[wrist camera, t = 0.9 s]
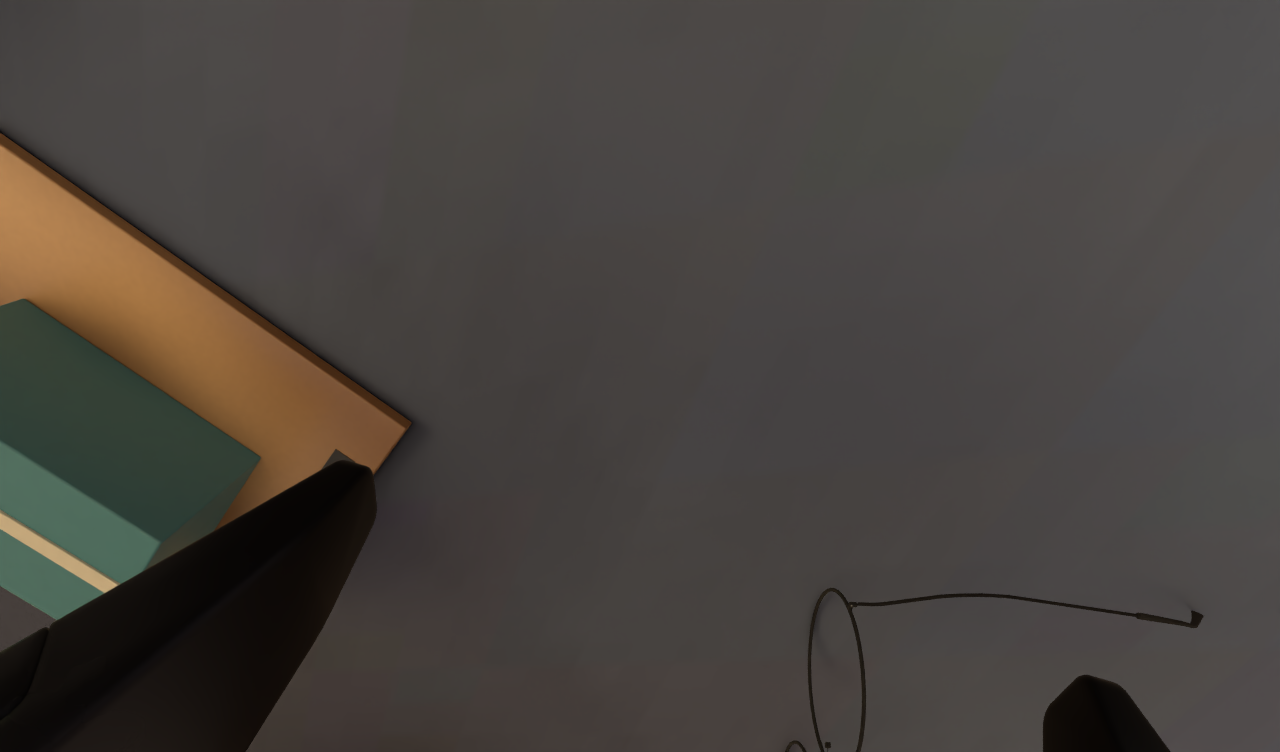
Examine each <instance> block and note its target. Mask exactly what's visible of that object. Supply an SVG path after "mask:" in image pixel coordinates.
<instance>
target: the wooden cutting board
mask: <svg viewBox="0 0 1280 752" xmlns="http://www.w3.org/2000/svg"><path fill="white" fill-rule="evenodd" d="M19 299H26V300H27V301H29V302H30V303H32V304H33V305H35V306H36V307H37V308H39V309H40V310H42V311H43V312H45V313H46V314H48V315H49V316H51V317H52V318H54V319H55V320H57V321H58V322H60V323H61V324H63V325H64V326H66V327H67V328H69V329H70V330H72V331H73V332H75V333H76V334H78V335H79V336H81V337H82V338H84V339H85V340H87V341H88V342H90V343H91V344H93V345H94V346H96V347H97V348H99V349H100V350H102V351H103V352H105V353H106V354H108V355H109V356H111V357H112V358H114V359H115V360H117V361H118V362H120V363H121V364H123V365H124V366H126V367H127V368H129V369H130V370H132V371H133V372H135V373H136V374H138V375H139V376H141V377H142V378H144V379H145V380H147V381H148V382H150V383H151V384H153V385H154V386H155V387H157V388H158V389H160V390H161V391H163V392H164V393H166V394H167V395H169V396H170V397H172V398H173V399H175V400H176V401H178V402H179V403H181V404H182V405H184V406H185V407H187V408H188V409H190V410H191V411H193V412H194V413H196V414H197V415H199V416H200V417H202V418H203V419H205V420H206V421H208V422H209V423H211V424H212V425H214V426H215V427H217V428H218V429H220V430H221V431H223V432H224V433H226V434H227V435H229V436H230V437H232V438H233V439H235V440H236V441H238V442H239V443H241V444H242V445H244V446H245V447H247V448H248V449H250V450H251V451H253V452H254V453H256V454H257V455H259V456H260V457H261V459H260V461H259V462H258V464H257V465H256V467H255V468H254V470H253V472H252V473H251V475H250V476H249V478H248V479H247V481H246V482H245V484H244V485H243V487H242V488H241V490H240V492H239V493H238V495H237V496H236V498H235V499H234V501H233V502H232V504H231V505H230V507H229V508H228V510H227V512H226V513H225V515H224V516H223V518H222V519H221V521H220V522H219V524H218V525H217V527H216V528H215V530H216V529H218V528H220V527H221V526H223V525H225V524H227V523H229V522H230V521H232V520H234V519H236V518H237V517H239V516H241V515H243V514H244V513H246V512H248V511H250V510H251V509H253V508H255V507H257V506H258V505H260V504H262V503H264V502H265V501H267V500H269V499H271V498H272V497H274V496H276V495H278V494H279V493H281V492H283V491H285V490H286V489H288V488H290V487H292V486H293V485H295V484H297V483H299V482H301V481H302V480H304V479H306V478H308V477H309V476H311V475H313V474H315V473H316V472H318V471H320V470H322V469H323V468H325V467H327V466H329V465H330V464H332V463H334V462H336V461H340V460H347V461H351V462H354V463H358V464H361V465H365V466H367V467H369V468H370V469H371V470H372V472H373V475H374V474H375V473H376V471H377V470H378V469H379V467H380V466H381V465H382V463H383V462H384V460H385V459H386V458H387V456H388V455H389V454H390V452H391V451H392V450H393V448H394V447H395V446H396V444H397V443H398V441H399V440H400V439H401V437H402V436H403V435H404V433H405V432H406V431H407V429H408V428H409V427H410V425H411V422H410V421H409V420H407V419H406V418H405V417H403V416H402V415H400V414H399V413H397V412H396V411H395V410H393V409H392V408H390V407H389V406H388V405H386V404H385V403H383V402H382V401H380V400H379V399H378V398H376V397H375V396H373V395H372V394H370V393H369V392H368V391H366V390H365V389H363V388H362V387H361V386H359V385H358V384H356V383H355V382H353V381H352V380H351V379H349V378H348V377H346V376H345V375H343V374H342V373H341V372H339V371H338V370H336V369H335V368H334V367H332V366H331V365H329V364H328V363H326V362H325V361H324V360H322V359H321V358H319V357H318V356H317V355H315V354H314V353H312V352H311V351H309V350H308V349H307V348H305V347H304V346H302V345H301V344H299V343H298V342H297V341H295V340H294V339H292V338H291V337H290V336H288V335H287V334H285V333H284V332H282V331H281V330H280V329H278V328H277V327H275V326H274V325H272V324H271V323H270V322H268V321H267V320H265V319H264V318H263V317H261V316H260V315H258V314H257V313H255V312H254V311H253V310H251V309H250V308H248V307H247V306H246V305H244V304H243V303H241V302H240V301H238V300H237V299H236V298H234V297H233V296H231V295H230V294H228V293H227V292H226V291H224V290H223V289H221V288H220V287H219V286H217V285H216V284H214V283H213V282H211V281H210V280H209V279H207V278H206V277H204V276H203V275H201V274H200V273H199V272H197V271H196V270H194V269H193V268H192V267H190V266H189V265H187V264H186V263H184V262H183V261H182V260H180V259H179V258H177V257H176V256H175V255H173V254H172V253H170V252H169V251H167V250H166V249H165V248H163V247H162V246H160V245H159V244H157V243H156V242H155V241H153V240H152V239H150V238H149V237H148V236H146V235H145V234H143V233H142V232H140V231H139V230H138V229H136V228H135V227H133V226H132V225H130V224H129V223H128V222H126V221H125V220H123V219H122V218H121V217H119V216H118V215H116V214H115V213H113V212H112V211H111V210H109V209H108V208H106V207H105V206H104V205H102V204H101V203H99V202H98V201H96V200H95V199H94V198H92V197H91V196H89V195H88V194H86V193H85V192H84V191H82V190H81V189H79V188H78V187H77V186H75V185H74V184H72V183H71V182H69V181H68V180H67V179H65V178H64V177H62V176H61V175H60V174H58V173H57V172H55V171H54V170H52V169H51V168H50V167H48V166H47V165H45V164H44V163H42V162H41V161H40V160H38V159H37V158H35V157H34V156H33V155H31V154H30V153H28V152H27V151H25V150H24V149H23V148H21V147H20V146H18V145H17V144H15V143H14V142H13V141H11V140H10V139H8V138H7V137H6V136H4V135H3V134H1V133H0V306H1V305H4V304H7V303H10V302H13V301H16V300H19Z"/></svg>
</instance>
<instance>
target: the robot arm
mask: <svg viewBox="0 0 1280 752" xmlns="http://www.w3.org/2000/svg"><path fill="white" fill-rule="evenodd" d="M376 513H377V503H376V494H375V485H374V476H373V472H372V470H371V469H370V468H369V467H367V466H365V465H361V464H358V463H354V462H351V461H347V460H340V461H336V462H334V463H332V464H330V465H329V466H327V467H325V468H323V469H322V470H320V471H318V472H316V473H315V474H313V475H311V476H309V477H308V478H306V479H304V480H302V481H301V482H299V483H297V484H295V485H293V486H292V487H290V488H288V489H286V490H285V491H283V492H281V493H279V494H278V495H276V496H274V497H272V498H271V499H269V500H267V501H265V502H264V503H262V504H260V505H258V506H257V507H255V508H253V509H251V510H250V511H248V512H246V513H244V514H243V515H241V516H239V517H237V518H236V519H234V520H232V521H230V522H229V523H227V524H225V525H223V526H221V527H220V528H218V529H216V530H214V531H213V532H211V533H209V534H207V535H206V536H204V537H202V538H200V539H199V540H197V541H195V542H193V543H192V544H190V545H188V546H186V547H185V548H183V549H181V550H179V551H178V552H176V553H174V554H172V555H171V556H169V557H167V558H165V559H164V560H162V561H160V562H158V563H156V564H155V565H153V566H151V567H149V568H148V569H146V570H144V571H142V572H141V573H139V574H137V575H135V576H134V577H132V578H130V579H128V580H127V581H125V582H123V583H121V584H120V585H118V586H116V587H114V588H113V589H111V590H109V591H107V592H106V593H104V594H102V595H100V596H99V597H97V598H95V599H93V600H92V601H90V602H88V603H86V604H84V605H83V606H81V607H79V608H77V609H76V610H74V611H72V612H70V613H69V614H67V615H65V616H63V617H62V618H60V619H58V620H56V621H55V622H53V623H52V624H51V626H50V628H46V627H45V628H42V629H40V630H38V631H37V632H35V633H33V634H31V635H30V636H28V637H26V638H24V639H23V640H21V641H19V642H17V643H16V644H14V645H12V646H10V647H8V648H7V649H5V650H3V651H1V652H0V752H246V750H247V749H248V747H249V745H250V744H251V742H252V741H253V739H254V737H255V736H256V734H257V733H258V731H259V730H260V728H261V726H262V725H263V723H264V722H265V720H266V718H267V717H268V715H269V714H270V712H271V710H272V709H273V707H274V706H275V704H276V702H277V701H278V699H279V698H280V696H281V695H282V693H283V691H284V690H285V688H286V687H287V685H288V683H289V682H290V680H291V679H292V677H293V675H294V674H295V672H296V671H297V669H298V667H299V666H300V664H301V663H302V661H303V660H304V658H305V656H306V655H307V653H308V652H309V650H310V648H311V647H312V645H313V644H314V642H315V640H316V638H317V637H318V635H319V633H320V632H321V630H322V628H323V626H324V624H325V622H326V620H327V619H328V617H329V615H330V613H331V611H332V609H333V607H334V605H335V602H336V600H337V598H338V596H339V594H340V592H341V590H342V588H343V586H344V584H345V582H346V580H347V578H348V576H349V574H350V572H351V570H352V567H353V565H354V563H355V561H356V559H357V557H358V555H359V553H360V551H361V549H362V547H363V545H364V543H365V541H366V539H367V537H368V535H369V532H370V530H371V528H372V526H373V524H374V521H375V518H376ZM1043 752H1170V750H1169V749H1168V748H1167V746H1166V745H1165V744H1164V742H1163V741H1162V739H1161V738H1160V737H1159V735H1158V734H1157V733H1156V731H1155V730H1154V729H1153V727H1152V726H1151V725H1150V723H1149V722H1148V720H1147V719H1146V718H1145V716H1144V715H1143V714H1142V712H1141V711H1140V710H1139V708H1138V707H1137V705H1136V704H1135V703H1134V701H1133V700H1132V699H1131V697H1130V696H1129V695H1128V693H1127V692H1126V691H1125V690H1124V689H1123V688H1122V687H1121V686H1119V685H1118V684H1116V683H1114V682H1111V681H1107V680H1104V679H1100V678H1097V677H1094V676H1090V675H1082V676H1079V677H1077V678H1076V679H1075V680H1074V681H1073V682H1072V683H1071V684H1070V685H1069V686H1068V687H1067V688H1066V689H1065V690H1064V691H1063V692H1062V693H1061V694H1060V695H1059V696H1058V697H1057V698H1056V699H1055V700H1054V701H1053V702H1052V703H1051V704H1050V705H1049V707H1048V708H1047V710H1046V713H1045V716H1044V721H1043Z"/></svg>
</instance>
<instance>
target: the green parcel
mask: <svg viewBox="0 0 1280 752" xmlns="http://www.w3.org/2000/svg"><path fill="white" fill-rule="evenodd" d="M260 459H261V457H260V456H259V455H257V454H256V453H254V452H253V451H251V450H250V449H248V448H247V447H245V446H244V445H242V444H241V443H239V442H238V441H236V440H235V439H233V438H232V437H230V436H229V435H227V434H226V433H224V432H223V431H221V430H220V429H218V428H217V427H215V426H214V425H212V424H211V423H209V422H208V421H206V420H205V419H203V418H202V417H200V416H199V415H197V414H196V413H194V412H193V411H191V410H190V409H188V408H187V407H185V406H184V405H182V404H181V403H179V402H178V401H176V400H175V399H173V398H172V397H170V396H169V395H167V394H166V393H164V392H163V391H161V390H160V389H158V388H157V387H155V386H154V385H153V384H151V383H150V382H148V381H147V380H145V379H144V378H142V377H141V376H139V375H138V374H136V373H135V372H133V371H132V370H130V369H129V368H127V367H126V366H124V365H123V364H121V363H120V362H118V361H117V360H115V359H114V358H112V357H111V356H109V355H108V354H106V353H105V352H103V351H102V350H100V349H99V348H97V347H96V346H94V345H93V344H91V343H90V342H88V341H87V340H85V339H84V338H82V337H81V336H79V335H78V334H76V333H75V332H73V331H72V330H70V329H69V328H67V327H66V326H64V325H63V324H61V323H60V322H58V321H57V320H55V319H54V318H52V317H51V316H49V315H48V314H46V313H45V312H43V311H42V310H40V309H39V308H37V307H36V306H35V305H33V304H32V303H30V302H29V301H27V300H26V299H19V300H16V301H13V302H10V303H7V304H4V305H1V306H0V586H1V587H3V588H4V589H6V590H8V591H9V592H11V593H13V594H14V595H16V596H18V597H20V598H21V599H23V600H25V601H26V602H28V603H30V604H31V605H33V606H35V607H36V608H38V609H40V610H41V611H43V612H45V613H46V614H48V615H50V616H51V617H53V618H55V619H56V620H58V619H60V618H62V617H63V616H65V615H67V614H69V613H70V612H72V611H74V610H76V609H77V608H79V607H81V606H83V605H84V604H86V603H88V602H90V601H92V600H93V599H95V598H97V597H99V596H100V595H102V594H104V593H106V592H107V591H109V590H111V589H113V588H114V587H116V586H118V585H120V584H121V583H123V582H125V581H127V580H128V579H130V578H132V577H134V576H135V575H137V574H139V573H141V572H142V571H144V570H146V569H148V568H149V567H151V566H153V565H155V564H156V563H158V562H160V561H162V560H164V559H165V558H167V557H169V556H171V555H172V554H174V553H176V552H178V551H179V550H181V549H183V548H185V547H186V546H188V545H190V544H192V543H193V542H195V541H197V540H199V539H200V538H202V537H204V536H206V535H207V534H209V533H211V532H213V531H214V530H215V528H216V527H217V525H218V524H219V522H220V521H221V519H222V518H223V516H224V515H225V513H226V512H227V510H228V508H229V507H230V505H231V504H232V502H233V501H234V499H235V498H236V496H237V495H238V493H239V492H240V490H241V488H242V487H243V485H244V484H245V482H246V481H247V479H248V478H249V476H250V475H251V473H252V472H253V470H254V468H255V467H256V465H257V464H258V462H259V461H260Z"/></svg>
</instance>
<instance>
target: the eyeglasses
mask: <svg viewBox="0 0 1280 752" xmlns="http://www.w3.org/2000/svg"><path fill="white" fill-rule="evenodd" d="M830 591H833V592H836V593H837V594H838V595H839V596H840V597H841V598H842V600H843V601H844V603H845V605H846V607H847V610H848V612H849V615H850V617H851V620H852V624H853V627H854V631H855V636H856V640H857V646H858V652H859V659H860V668H861V682H862V716H861V728H860V735H859V742H858V747H857V750H856V752H860V751H861V746H862V742H863V736H864V727H865V715H866V685H865V670H864V661H863V653H862V647H861V642H860V637H859V632H858V628H857V625H856V622H855V618H854V615H853V613H852V608H853V607H857V606H885V605H893V604H901V603H908V602H916V601H923V600H931V599H939V598H952V597H998V598H1011V599H1018V600H1025V601H1032V602H1039V603H1045V604H1052V605H1059V606H1066V607H1072V608H1079V609H1086V610H1093V611H1099V612H1106V613H1113V614H1120V615H1126V616H1133V617H1136V618H1137V619H1142V620H1148V621H1155V622H1161V623H1168V624H1174V625H1181V626H1186V627H1190V628H1197V627H1198V625H1199V624H1200V622H1201V620H1202V618H1203V615H1202V614H1200V613H1198V612H1195V611H1191V613H1192V619H1191V623H1186V622H1183V621H1179V620H1174V619H1169V618H1164V617H1159V616H1154V615H1149V614H1144V613H1136V614H1133V613H1127V612H1120V611H1113V610H1106V609H1100V608H1093V607H1086V606H1079V605H1072V604H1066V603H1059V602H1052V601H1045V600H1039V599H1032V598H1025V597H1018V596H1012V595H1000V594H983V593H979V594H945V595H935V596H927V597H920V598H912V599H904V600H896V601H889V602H879V603H863V602H858V604H857V603H856V602H849V603H848V602H847V600H846V598H845V597H844V595H843V594H842V593H841V592H840V591H839V590H837V589H835V588H829V589H827V590H825V591H824V592H823V593H822V594H821V596H820V597H819V599H818V602H817V604H816V607H815V610H814V613H813V618H812V623H811V628H810V636H809V648H808V684H809V696H810V706H811V713H812V719H813V724H814V729H815V733H816V737H817V741H818V744H819V748H820V750H821V752H824V749H823V746H822V742H821V740H820V736H819V732H818V728H817V723H816V718H815V712H814V705H813V696H812V683H811V649H812V637H813V629H814V623H815V618H816V615H817V611H818V608H819V605H820V603H821V601H822V599H823V597H824V596H825V595H826V594H827V593H828V592H830ZM793 744H798V745H799V746H800V748H801V749H802V751H803V752H806V750H805V748H804V747H803V745H802V744H801V743H800V742H798V741H792V742H790V744H789V745H788V747H787V749H786V751H785V752H788V751H789V749H790V747H791V746H792V745H793ZM825 748H827V752H828V748H831V744H830V742H826V743H825Z"/></svg>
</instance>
